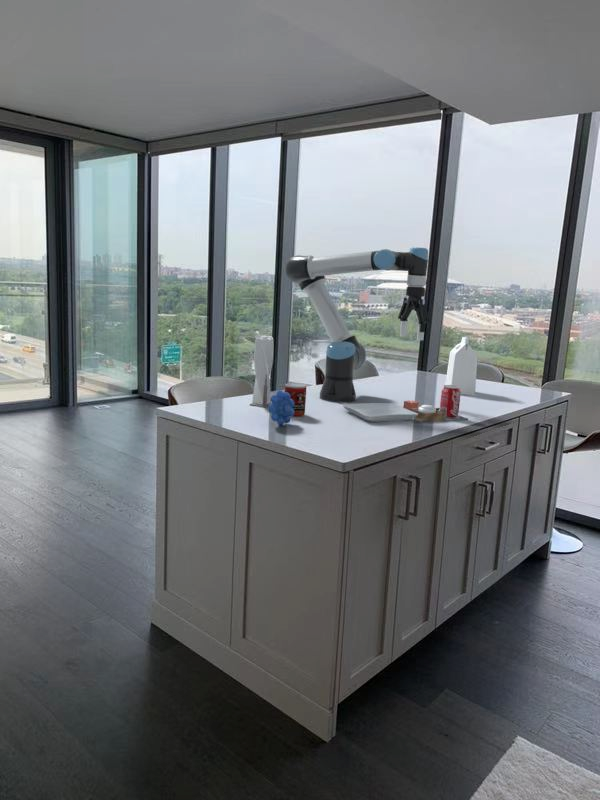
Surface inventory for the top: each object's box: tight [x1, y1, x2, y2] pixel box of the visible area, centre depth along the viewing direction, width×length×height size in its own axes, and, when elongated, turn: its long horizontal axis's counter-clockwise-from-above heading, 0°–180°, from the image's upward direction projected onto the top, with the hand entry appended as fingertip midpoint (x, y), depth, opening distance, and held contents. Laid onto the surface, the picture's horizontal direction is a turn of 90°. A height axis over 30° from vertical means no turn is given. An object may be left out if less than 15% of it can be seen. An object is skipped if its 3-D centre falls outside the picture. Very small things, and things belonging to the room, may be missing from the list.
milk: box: [444, 336, 478, 396], centre depth 289 cm, size 12×12×26 cm
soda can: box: [439, 384, 461, 419], centre depth 232 cm, size 7×7×12 cm
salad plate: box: [342, 402, 418, 423], centre depth 228 cm, size 21×21×3 cm
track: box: [435, 407, 469, 422], centre depth 237 cm, size 10×19×1 cm, turn 21°
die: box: [402, 400, 420, 410], centre depth 239 cm, size 4×4×4 cm
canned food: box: [284, 382, 307, 418], centre depth 222 cm, size 8×8×11 cm
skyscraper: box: [249, 330, 275, 408], centre depth 235 cm, size 8×8×28 cm
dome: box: [418, 404, 437, 413], centre depth 229 cm, size 6×6×3 cm
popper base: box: [410, 407, 444, 422], centre depth 229 cm, size 9×9×3 cm
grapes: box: [268, 390, 295, 426], centre depth 204 cm, size 12×7×12 cm, turn 137°
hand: (411, 338), depth 255 cm, fingers open, 13 cm apart
